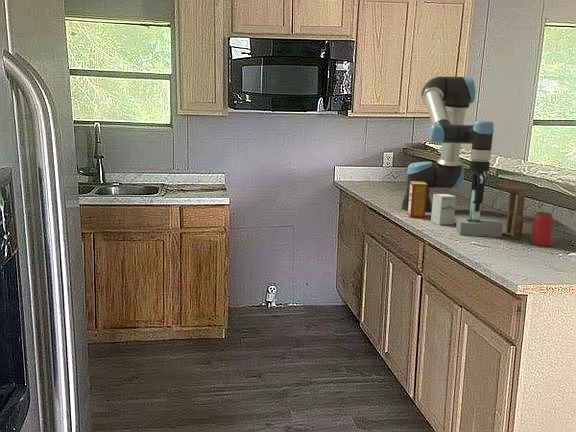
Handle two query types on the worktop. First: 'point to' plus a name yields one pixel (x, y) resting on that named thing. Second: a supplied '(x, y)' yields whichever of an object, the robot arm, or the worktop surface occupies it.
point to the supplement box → (443, 209)
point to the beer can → (542, 229)
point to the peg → (472, 208)
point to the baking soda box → (417, 199)
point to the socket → (479, 227)
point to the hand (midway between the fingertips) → (474, 217)
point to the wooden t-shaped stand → (513, 219)
